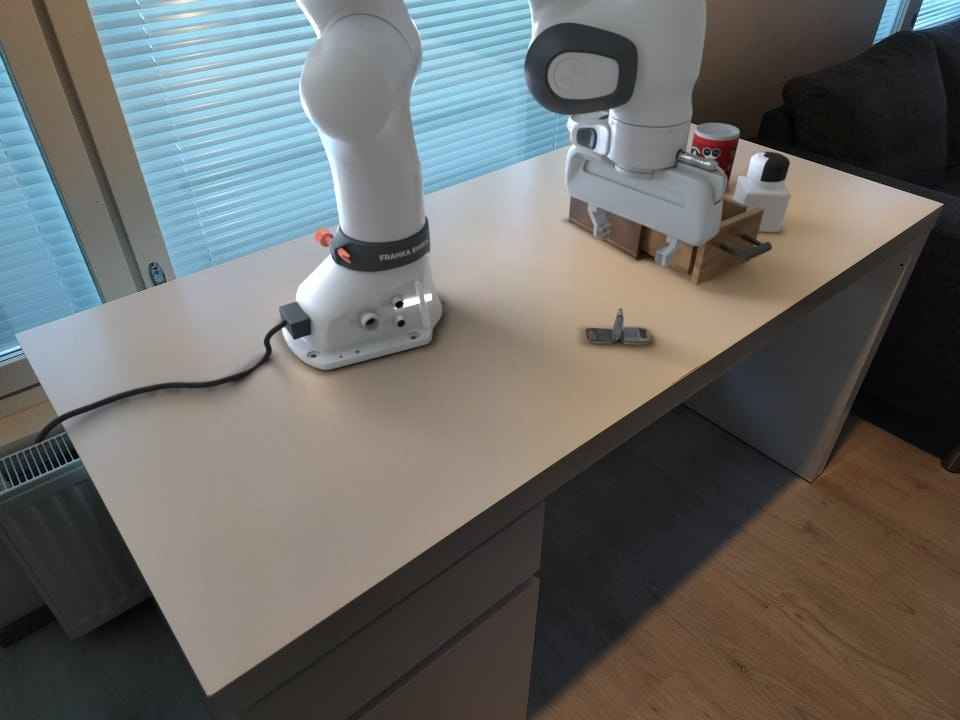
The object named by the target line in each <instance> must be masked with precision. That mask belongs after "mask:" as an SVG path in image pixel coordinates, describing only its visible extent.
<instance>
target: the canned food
mask: <svg viewBox="0 0 960 720" xmlns="http://www.w3.org/2000/svg"><path fill="white" fill-rule="evenodd" d="M740 137H741V130H740V129H739V128H738V127H736V126H734V125H731V124H728V123H722V122H705V123H700V124H698V125H696V126H695V129H694V133H693V137H692V142H691V149H690V153H692V154H695V155H697V156H699V157H702V158H705V159H711V160H714V161H716V162H717V163H718V166H719V167H720V168H721V169H722V170H723V171H724V173H725V175H726V176H727V186H726V189H727V188H728V186H729V184H730V180H731V175H732V170H733V166H734V163H735V159H736V154H737V150H738V145H739V141H740ZM716 171H717V170H716ZM717 172H718V171H717Z"/></svg>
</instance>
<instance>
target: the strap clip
mask: <svg viewBox="0 0 960 720" xmlns="http://www.w3.org/2000/svg"><path fill="white" fill-rule="evenodd" d="M616 312H617V313H616V317H615V320H614V324H613V326H612V328H601V327H600V328H599V327H589V328H586V329H585V340H586V341H587V342H588V343H591V344H595V345H596V344H597V345H600V344H602V345H604V344H605V345H606V344H614V342H616V341H619V340H620V343H623V345H634V346H644V345H648V344H651V343H650V342H651V336H650V331H649V329H648V328H647V327H642V326H624V323H625V322H624V321H625V317H624V312H623V309H622V307H619V308H618V309H617V311H616ZM589 333H594V339H593V338H590V337H589ZM642 334H644V335H645V337H642V336H641V335H642Z"/></svg>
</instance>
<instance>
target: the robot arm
mask: <svg viewBox="0 0 960 720" xmlns="http://www.w3.org/2000/svg"><path fill="white" fill-rule="evenodd" d="M295 1H296V3H297V4H298V6H299V8H300V9H301V10H302V13H304V15H305V17H306V18H307V20H308V21H309V23H310V24H311V27H312V28H313V31H314V32H315V34H316V37H317V40H316V41H315V42H314V43H313V44H312V46H311V47H310V48H309V50H308V52H307V55H306V56H305V58H304V59H305V60H304V63H303V67H302V69H301V75H300V80H299V98H300V102H301V105H302V108H303V110H304V112H305V115H306V116H307V117H308V120H309V121H310V123H312V125H313V126H314V128H316V129H317V132H318V135H319V138H320V141H321V143H322V146H323V149H324V151H325V154H326V156H327V157H326V158H327V160H328V163H329V166H330V170H331V175H332V181H333V186H334V193H335V200H336V205H337V206H336V207H337V213H338V219H339V222H338V225H337V228H336V230H335V233H334V234H333V233H332V232H330V231H329V230H328V229H327V228H325V227H320V228H318V229H317V230H315V233H314V239H315V241H316V242H317V243H319V244H320V245H321V246H322V247H324V248H328V247H329V252H330V253H329V255H327V257H326V258H325V259H324V260H323V261H322V262H321V263H320V264H319V265H318V266H317V267H316V269H315V270H314V271H313V272H311V273H310V275H309V276H307V277H306V279H305V280H304V281H302V283H300V285H299V286H298V288H297V291H296V294H295V301H293V302H290V303H287V304H283V305H280V306H278V311H279V316H280V320H281V321H280V322H279V323H278V324H276V325H274V326H273V327H272V328H271V329H270V330H268V331H267V333H266V334H265V336H264V338H263V345H264V348H265V352H264V354H263V355H262V357H261V358H260V359H259V361H258V362H256V363H255V364H254V365H252V366H251V367H249V368H247V369H245V370H242V371H240V372H237V373H234V374H230V375H226V376H223V377H220V378H217V379H212V380H206V381H169V382H160V383H155V384H150V385H145V386H140V387H137V388H132V389H129V390H125V391H122V392H119V393H116V394H113V395H110V396H107V397H105V398H102V399H100V400H97V401H94V402H92V403H89V404H87V405H83V406H80V407H78V408H74V409H72V410H70V411H67V412H64V413H62V414H61V415H59V416H57V417H55V418H53V419H52V420H51V421H49V422H48V423H47V424H45V426H43V428H42V429H41V430H40V432H39V433H38V435H37V436H36V438H35V440H34V444H40V443H42V442H43V441H44V440H45V439H46V437H47V436H48V435H49V434H50V433H51V431H53V429H55V428H56V427H58V426H59V425H60V424H61V423H63V422H65V421H67V420H70V419H72V418H74V417H76V416H79V415H82V414H85V413H88V412H91V411H94V410H96V409H98V408H102V407H104V406H107V405H109V404H112V403H114V402H117V401H119V400H123V399H126V398H130V397H134V396H137V395H141V394H146V393H151V392H155V391H160V390H167V389H206V388H213V387H217V386H220V385H224V384H227V383H231V382H234V381H237V380H241V379H242V378H245V377H247V376H249V375H250V374H251V373H252V372H254V371H255V370H256V369H258V368H260V367H261V366H263V364H265V363H266V362H268V360H269V359H270V357H271V355H272V354H273V346H272V345H271V339H272V338H273V336H274V335H275V334H277V333H278V332H279V331H281V330H282V336H283V339H284V341H285V343H286V345H287V346H288V348H289V349H290V350H291V352H292V353H293V354H294V355H295V356H296V357H297V358H298V359H299V360H300V361H302V362H304V363H305V364H306V365H309V366H310V367H313V368H315V369H318V370H322V371H329V370H335V369H338V368H342V367H345V366H350V365H354V364H357V363H361V362H365V361H368V360H372V359H373V360H374V359H376V358H380V357H384V356H388V355H391V354H395V353H399V352H403V351H406V350H411V349H414V348H418V347H422V346H426V345H428V344H430V343H431V341H432V340H433V333H434V332H433V330H434V328H435V327H436V326H437V324H438V323H439V322H440V320H441V318H442V315H443V305H442V303H441V300H440V297H439V294H438V292H437V289H436V285H435V281H434V278H433V273H432V267H431V261H430V256H429V254H430V252H431V233H430V223H429V219H428V217H427V216H426V210H425V209H426V208H425V196H424V195H425V194H424V192H425V191H424V178H423V177H424V176H423V163H422V160H421V157H420V156H419V152H418V148H417V144H416V139H415V138H416V137H415V132H414V127H413V121H412V113H411V99H412V92H413V88H414V86H415V83H416V82H417V80H418V77H419V75H420V72H421V69H422V65H423V43H422V39H421V35H420V33H419V29H418V27H417V25H416V23H415V21H414V19H413V18H412V17H411V15H410V13H409V11H408V8H407V5H406V3H405V1H404V0H295ZM527 2H528V7H529V11H530V17H531V37H530V40H529V43H528V47H527V51H526V55H525V58H524V65H523V75H524V80H525V84H526V87H527V89H528V91H529V93H530V95H531V96H532V98H533V99H534V100H535V101H536V103H538V105H540V106H541V107H542V108H543V109H546V110H547V111H549V112H551V113H554V114H556V115H557V114H558V115H562V116H563V115H564V116H570V115H575V114H584V113H592V112H599V111H608V112H609V113H607V114H603V115H600V116H597V117H593V118H591V119H588V120H585V121H583V122H581V123H579V124H577V125H575V126H573V127H572V128H571V133H570V138H571V141H572V143H573V145H572V146H571V147H570V146H569V149H568V151H567V155H566V162H565V170H564V188H565V191H566V192H567V194H568V195H569V196H570V197H571V196H572V197H574V198H577V199H579V200H582V201H584V202H587V203H588V212H589V214H590V217H591V220H592V222H593V224H594V232H593V235H592V236H593V237H595V238H597V239H599V240H601V241H603V240H605V238H609V237H610V235H611V229H612V224H611V223H608V222H607V219H606V216H605V212H604V210H607V211H609V212H612V213H614V214H616V215H619V216H621V217H624V218H626V219H629V220H631V221H634V222H636V223H639V224H641V225H644V226H646V227H649V228H651V229H654V230H656V231H659V232H661V233H664V234H666V235H667V239H666V242H667V243H670V245H669V246H668V247H666V246H665V247H663V248H662V249H659V250H658V251H656V258H655V259H654V263H655V264H657V265H658V266H661V267H663V268H668V267H670V265H671V264H672V263H673V260H674V255H675V251H676V250H677V249H678V248H679V247H680V246H681V245H682V244H683V243H684V242H686V243H689V244H691V245H694V246H699V245H701V244H703V243H705V242H707V241H709V240H710V239H712V238H713V237H714V236H716V235H717V234H718V232H719V229H720V224H721V217H722V207H723V197H724V196H725V194H726V191H727V190H726V189H727V188H726V186H727V176H726V175H725V173H724V171H723V170H722V169H721V168H720V167H719V166H718V163H717V162H716V161H714V160H711V159H705V158H702V157H699V156H697V155H695V154H692V153H691V152H689V151H687V148H688V142H689V136H690V130H691V125H692V118H693V114H694V113H693V110H694V109H693V102H692V99H693V91H694V88H695V85H696V83H697V81H698V78H699V76H700V72H701V67H702V61H703V56H704V55H703V54H704V47H705V40H706V30H707V29H706V28H707V3H706V0H527ZM716 170H717V171H718V172H717V171H716ZM727 187H728V186H727Z"/></svg>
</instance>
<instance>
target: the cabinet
mask: <svg viewBox="0 0 960 720" xmlns="http://www.w3.org/2000/svg"><path fill="white" fill-rule="evenodd" d="M568 212H569V213H568V222H569V223H571V224H573V225H574V226H576V227H579V228H580V229H581V230H584V231H586V232H587V233H588V234H590V235H592V236H593V232H594V224H593V222H592V220H591V217H590V214H589V212H588V203H587V202H584V201H582V200H579V199H577V198H574V197H572V196H570V197H569V211H568ZM604 212H605V216H606V219H607V222H608V223H611V224H612V229H611V235H610V237H609V238H605V240H602V241H603V242H604V243H606V244H608V245H609V246H611V247H613V248H614V249H616V250H619V251H621V252H622V253H623V254H626V255H627V256H629V257H631V258H632V259H634V260H639V259H641V258H644V257H646V256H649V255H650V254H648V253H646V252H645V251H643V250H641V245H642V239H643V232H644V225H641V224H639V223H636V222H634V221H631V220H629V219H626V218H624V217H621V216H619V215H616V214H614V213H612V212H609V211H607V210H604Z"/></svg>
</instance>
